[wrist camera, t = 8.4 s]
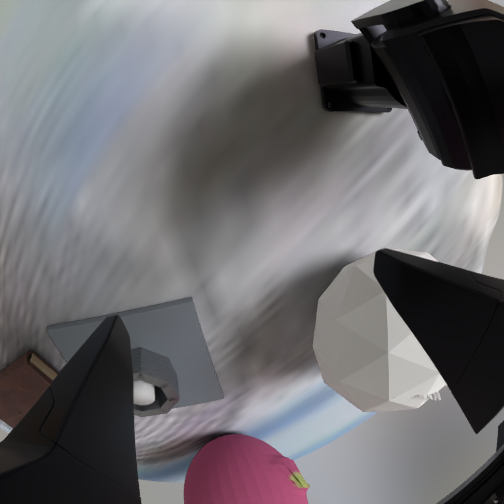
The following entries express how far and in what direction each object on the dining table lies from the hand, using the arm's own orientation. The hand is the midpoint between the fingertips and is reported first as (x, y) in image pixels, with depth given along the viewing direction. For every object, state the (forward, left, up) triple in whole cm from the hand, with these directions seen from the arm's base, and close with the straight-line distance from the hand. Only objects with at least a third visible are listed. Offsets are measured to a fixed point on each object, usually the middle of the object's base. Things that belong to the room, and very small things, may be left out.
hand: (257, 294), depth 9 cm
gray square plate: (+10, +15, -12) cm, 21 cm away
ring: (+10, +15, -11) cm, 21 cm away
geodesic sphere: (-12, +12, -12) cm, 21 cm away
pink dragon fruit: (+5, +34, -12) cm, 36 cm away
